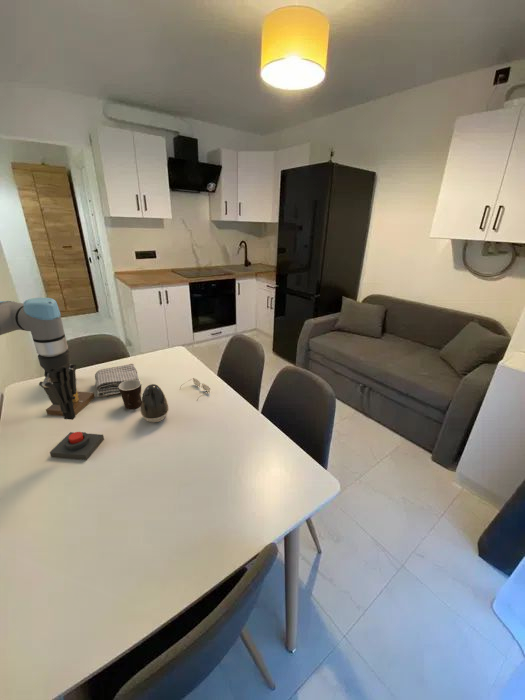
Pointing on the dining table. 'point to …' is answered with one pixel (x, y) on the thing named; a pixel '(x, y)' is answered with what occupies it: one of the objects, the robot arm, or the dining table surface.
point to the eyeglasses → (199, 385)
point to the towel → (114, 379)
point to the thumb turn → (75, 397)
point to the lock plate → (78, 406)
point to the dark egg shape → (154, 404)
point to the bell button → (76, 437)
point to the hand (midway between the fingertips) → (70, 417)
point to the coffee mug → (131, 393)
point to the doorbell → (77, 447)
